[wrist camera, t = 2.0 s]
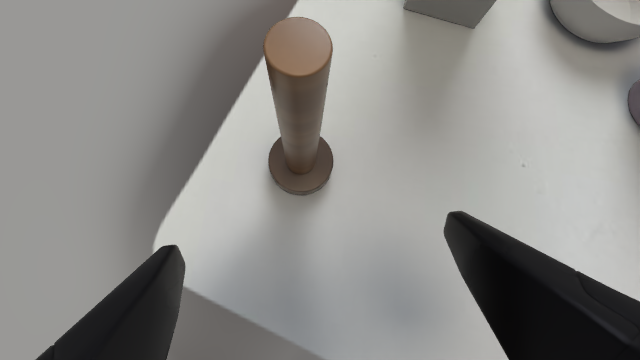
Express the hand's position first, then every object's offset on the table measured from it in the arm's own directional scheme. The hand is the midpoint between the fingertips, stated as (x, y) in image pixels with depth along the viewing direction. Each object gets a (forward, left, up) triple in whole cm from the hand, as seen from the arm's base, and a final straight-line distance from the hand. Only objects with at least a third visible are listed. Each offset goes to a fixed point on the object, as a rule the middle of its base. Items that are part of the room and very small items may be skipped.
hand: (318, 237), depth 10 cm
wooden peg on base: (+6, +2, -12) cm, 14 cm away
